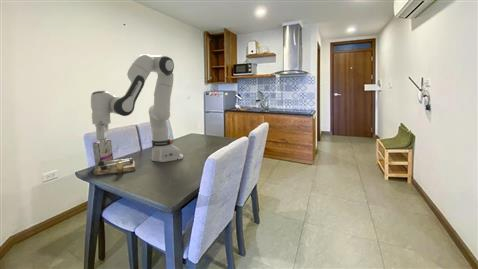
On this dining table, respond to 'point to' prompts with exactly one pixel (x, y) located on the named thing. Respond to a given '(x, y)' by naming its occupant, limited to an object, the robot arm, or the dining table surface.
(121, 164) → the brass pin
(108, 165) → the tong arm
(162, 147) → the robot arm
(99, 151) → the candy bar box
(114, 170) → the tong rest
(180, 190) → the dining table surface
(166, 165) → the dining table surface
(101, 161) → the tong frame
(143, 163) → the dining table surface
